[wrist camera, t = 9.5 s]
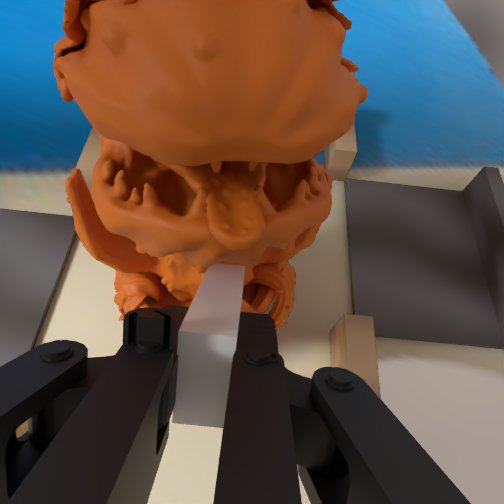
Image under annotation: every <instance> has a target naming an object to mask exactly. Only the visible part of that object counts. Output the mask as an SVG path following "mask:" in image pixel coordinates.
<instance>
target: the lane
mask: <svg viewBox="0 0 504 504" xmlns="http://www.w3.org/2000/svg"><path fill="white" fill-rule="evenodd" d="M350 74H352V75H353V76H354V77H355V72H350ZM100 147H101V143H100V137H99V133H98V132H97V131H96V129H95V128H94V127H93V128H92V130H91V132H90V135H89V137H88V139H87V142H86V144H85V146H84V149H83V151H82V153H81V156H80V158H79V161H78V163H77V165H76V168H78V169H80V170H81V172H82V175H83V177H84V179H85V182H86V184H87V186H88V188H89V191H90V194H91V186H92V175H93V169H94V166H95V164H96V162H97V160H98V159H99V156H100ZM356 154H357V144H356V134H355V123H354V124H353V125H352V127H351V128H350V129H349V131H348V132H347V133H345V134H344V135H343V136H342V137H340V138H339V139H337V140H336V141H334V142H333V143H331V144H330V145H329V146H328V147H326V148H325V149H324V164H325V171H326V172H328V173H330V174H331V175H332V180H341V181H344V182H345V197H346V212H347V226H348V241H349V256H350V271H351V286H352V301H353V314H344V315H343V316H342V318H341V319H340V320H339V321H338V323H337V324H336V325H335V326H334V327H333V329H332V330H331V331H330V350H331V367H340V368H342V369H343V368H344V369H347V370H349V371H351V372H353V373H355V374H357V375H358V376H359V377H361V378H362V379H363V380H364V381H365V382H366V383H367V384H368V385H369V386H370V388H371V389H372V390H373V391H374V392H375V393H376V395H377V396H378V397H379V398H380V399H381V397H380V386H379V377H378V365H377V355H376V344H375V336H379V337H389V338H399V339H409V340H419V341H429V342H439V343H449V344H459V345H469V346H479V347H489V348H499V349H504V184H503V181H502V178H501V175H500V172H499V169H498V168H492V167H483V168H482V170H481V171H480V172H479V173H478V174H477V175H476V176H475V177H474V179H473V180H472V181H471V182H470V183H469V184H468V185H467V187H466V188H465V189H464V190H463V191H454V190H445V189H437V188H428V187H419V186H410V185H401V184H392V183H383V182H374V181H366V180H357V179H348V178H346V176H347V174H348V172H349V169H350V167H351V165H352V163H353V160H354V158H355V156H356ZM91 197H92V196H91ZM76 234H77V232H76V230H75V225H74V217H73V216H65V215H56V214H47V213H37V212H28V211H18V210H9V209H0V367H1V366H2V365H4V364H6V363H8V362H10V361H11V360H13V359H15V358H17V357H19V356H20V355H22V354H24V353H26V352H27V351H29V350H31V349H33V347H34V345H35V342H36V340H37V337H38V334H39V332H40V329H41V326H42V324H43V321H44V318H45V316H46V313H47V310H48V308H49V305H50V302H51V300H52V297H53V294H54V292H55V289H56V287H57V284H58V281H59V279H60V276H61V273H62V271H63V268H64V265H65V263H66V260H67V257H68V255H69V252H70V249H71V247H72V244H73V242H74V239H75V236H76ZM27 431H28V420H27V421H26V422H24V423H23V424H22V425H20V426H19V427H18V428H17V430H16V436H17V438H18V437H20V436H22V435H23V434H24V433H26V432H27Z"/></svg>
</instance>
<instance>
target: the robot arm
mask: <svg viewBox="0 0 504 504" xmlns="http://www.w3.org/2000/svg"><path fill="white" fill-rule="evenodd" d="M244 275H245V266H239V265H230V264H221V263H217V264H215V265H213V266H210V267H209V268H208V269H207V271H206V273H205V275H204V278H203V280H202V282H201V284H200V286H199V288H198V290H197V292H196V295H195V297H194V299H193V301H192V303H191V305H190V307H184V306H175V305H167V306H165V307H163V308H155V307H145V308H137V309H134V310H131V311H128V312H127V313H126V314H124V323H123V345H122V346H121V348H120V349H119V350H118V352H117V353H116V355H113V356H106V357H94V358H88V349H87V348H86V346H85V345H84V344H81V343H79V342H76V341H69V340H62V341H61V340H55V341H53V342H49V343H44V344H42V345H39V346H37V347H35V348H33V349H31V350H29V351H27V352H26V353H24V354H22V355H20V356H19V357H17V358H15V359H13V360H11V361H10V362H8V363H6V364H4V365H2V366H1V367H0V504H147V501H148V498H149V495H150V492H151V489H152V486H153V483H154V480H155V477H156V473H157V470H158V467H159V464H160V461H161V458H162V455H163V452H164V449H165V445H166V442H167V439H168V435H169V420H170V417H171V414H172V411H173V421H172V423H180V424H189V425H199V426H209V427H218V428H223V435H222V443H221V450H220V458H219V466H218V473H217V481H216V488H215V496H214V503H213V504H302V502H301V494H300V486H299V478H298V472H299V476H300V478H301V481H302V483H303V486H304V488H305V490H306V493H307V495H308V498H309V500H310V503H311V504H471V503H470V502H469V501H468V500H467V499H466V497H465V496H464V495H463V494H462V493H461V492H460V490H459V489H458V488H457V487H456V486H455V485H454V484H453V482H452V481H451V480H450V479H449V478H448V477H447V475H445V473H444V472H443V471H442V470H441V469H440V467H439V466H438V465H437V464H436V463H435V462H434V460H433V459H432V458H431V457H430V456H429V455H428V454H427V453H426V451H425V450H424V449H423V448H422V447H421V445H420V444H419V443H418V442H417V441H416V440H415V438H414V437H413V436H412V435H411V434H410V433H409V432H408V430H407V429H406V428H405V427H404V426H403V425H402V423H401V422H400V421H399V420H398V419H397V418H396V416H395V415H394V414H393V413H392V412H391V411H390V410H389V408H388V407H387V406H386V405H385V404H384V403H383V401H382V400H381V399H380V398H379V397H378V396H377V395H376V393H375V392H374V391H373V390H372V389H371V388H370V386H369V385H368V384H367V383H366V382H365V381H364V380H363V379H362V378H361V377H359V376H358V375H357V374H355V373H353V372H351V371H349V370H347V369H344V368H343V369H342V368H340V367H324V368H320V369H318V370H316V371H315V372H314V374H313V376H312V379H310V378H306V377H303V376H300V375H298V374H295V373H293V372H291V371H289V370H288V369H286V368H285V367H284V360H283V358H282V356H281V355H280V354H278V345H277V336H276V326H275V321H274V320H273V319H272V318H271V317H270V316H269V315H268V314H260V313H250V312H241V303H242V293H243V284H244ZM27 420H28V431H27V432H26V433H24V434H23V435H22V436H20V437H18V438H17V436H16V430H17V428H18V427H19V426H20V425H22V424H23V423H24V422H26V421H27ZM297 464H298V470H297Z"/></svg>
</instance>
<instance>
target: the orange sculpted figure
mask: <svg viewBox="0 0 504 504" xmlns="http://www.w3.org/2000/svg"><path fill="white" fill-rule="evenodd" d="M334 1H338V0H65V7H64V12H65V14H64V20H63V26H62V28H63V30H64V32H65V34H66V36H64V37H63V38H61V39H60V40H59V41H58V42H57V43H56V44H55V46H54V51H55V57H54V74H55V77H56V78H57V85H58V89H59V91H60V92H61V97H62V99H63V100H64V101H65V102H70V101H71V100H72V98H74V100H75V101H76V103H77V104H78V105H79V107H80V108H81V110H82V111H83V113H84V114H85V116H86V117H87V119H88V120H89V122H90V123H91V125H92V126H93V127H94V128H95V129H96V131H97V132H98V133H99V137H100V143H101V147H100V156H99V159H98V160H97V162H96V164H95V166H94V169H93V175H92V186H91V194H90V191H89V188H88V186H87V184H86V182H85V179H84V177H83V175H82V172H81V170H80V169H78V168H75V169H72V170H71V173H72V176H71V177H69V178H67V180H66V192H67V196H68V197H67V201H68V202H69V203H70V204H71V207H72V211H73V217H74V225H75V230H76V232H77V234H78V236H79V238H80V240H81V242H82V243H83V246H84V247H85V248H86V249H87V251H88V252H89V253H90V254H91V255H92V256H93V257H94V258H95V259H96V260H98V261H101V262H102V263H104V264H105V265H107V266H110V267H112V268H114V269H115V270H116V277H115V282H114V285H115V290H117V291H116V292H118V291H119V292H118V293H117V294H116V295H115V298H114V301H115V303H116V304H117V305H118V306H119V311H120V312H121V313H122V315H121V316H120V318H119V320H124V314H126V313H127V312H128V311H131V310H134V309H137V308H145V307H155V308H163V307H165V306H167V305H175V306H184V307H190V305H191V303H192V301H193V299H194V297H195V295H196V292H197V290H198V288H199V286H200V284H201V282H202V280H203V278H204V275H205V273H206V271H207V269H208V268H209V267H210V266H213V265H215V264H217V263H221V264H230V265H239V266H245V275H244V284H243V293H242V303H241V312H250V313H260V314H262V313H263V312H264V311H265V310H266V308H267V307H268V306H269V305H270V303H271V302H272V300H273V298H274V296H275V294H276V299H275V303H274V305H273V308H272V310H271V311H270V313H269V314H268V315H269V316H270V317H271V318H272V319H273V320H274V321H275V326H276V330H277V329H279V328H280V327H281V326H282V325H283V324H287V321H286V319H287V318H288V316H289V313H290V311H291V309H292V306H293V301H294V286H295V284H296V282H295V277H296V274H295V270H294V268H293V267H292V266H290V265H289V263H288V260H289V259H291V258H292V257H293V256H295V255H296V254H297V253H298V252H300V251H301V250H302V249H304V248H306V247H308V246H310V245H311V244H312V242H313V241H314V239H315V237H316V234H317V232H318V230H319V228H320V226H321V223H322V222H324V221H325V220H326V218H327V217H328V216H329V214H330V210H331V203H332V197H331V188H332V175H331V174H330V173H328V172H326V171H325V169H324V165H323V164H318V163H317V162H316V160H315V159H314V156H316V155H317V154H318V153H320V152H321V151H322V150H324V149H325V148H326V147H328V146H329V145H330V144H331V143H333V142H334V141H336V140H337V139H339V138H340V137H342V136H343V135H344V134H345V133H347V132H348V131H349V129H350V128H351V127H352V125H353V124H354V121H355V114H356V111H357V108H358V104H360V103H362V102H364V101H365V100H366V99H367V97H368V90H367V88H366V87H365V86H363V85H361V84H360V83H359V82H358V80H357V79H356V78H355V77H354V76H353V75H352V74H350V72H355V71H358V70H359V68H358V67H357V66H356V65H355V64H354V63H353V62H351V61H349V60H348V59H346V58H343V57H341V55H342V45H343V42H344V40H345V36H346V31H345V30H349V29H351V25H352V21H350V20H348V19H347V17H345V16H344V15H343V14H342V13H340V12H338V10H337V9H336V8H335V7H334V5H333V4H332V2H334ZM91 196H92V197H91Z"/></svg>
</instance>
